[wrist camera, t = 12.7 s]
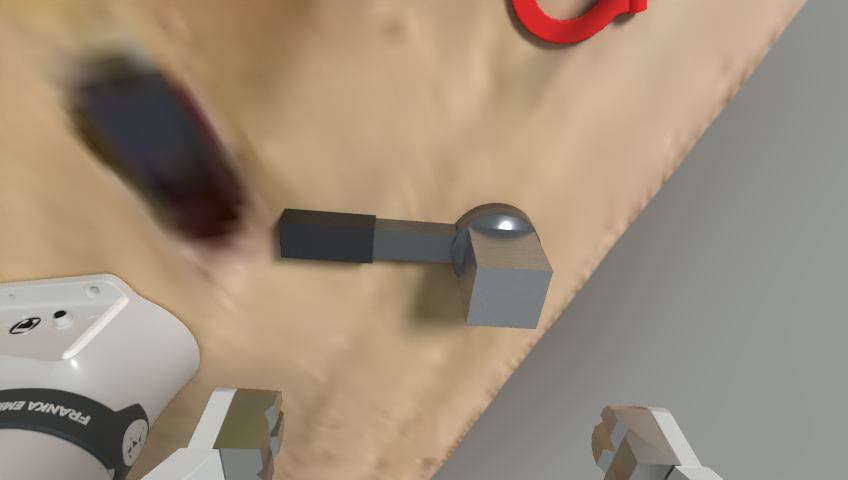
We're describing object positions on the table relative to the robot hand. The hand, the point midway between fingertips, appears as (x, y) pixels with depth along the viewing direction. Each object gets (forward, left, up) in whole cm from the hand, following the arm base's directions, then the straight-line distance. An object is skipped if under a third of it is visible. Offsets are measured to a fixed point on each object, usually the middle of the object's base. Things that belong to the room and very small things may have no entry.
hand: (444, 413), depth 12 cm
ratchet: (+1, -12, -29) cm, 31 cm away
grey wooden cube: (+8, -12, -27) cm, 30 cm away
